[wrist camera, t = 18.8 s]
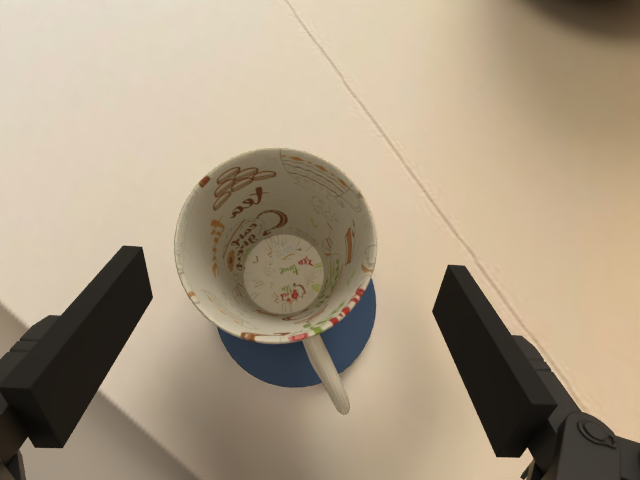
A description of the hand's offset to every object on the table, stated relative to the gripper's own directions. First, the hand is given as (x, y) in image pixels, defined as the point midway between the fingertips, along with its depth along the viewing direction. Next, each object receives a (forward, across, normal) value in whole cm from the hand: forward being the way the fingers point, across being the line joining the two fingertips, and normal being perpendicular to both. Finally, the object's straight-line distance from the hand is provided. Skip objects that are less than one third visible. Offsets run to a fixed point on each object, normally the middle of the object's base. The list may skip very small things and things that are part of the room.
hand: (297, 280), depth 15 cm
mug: (+6, 0, -6) cm, 9 cm away
